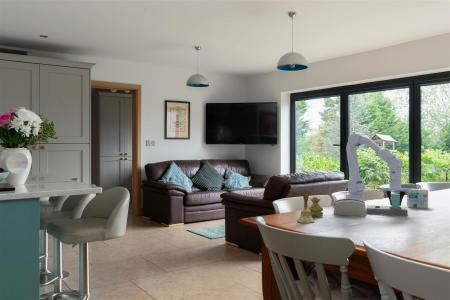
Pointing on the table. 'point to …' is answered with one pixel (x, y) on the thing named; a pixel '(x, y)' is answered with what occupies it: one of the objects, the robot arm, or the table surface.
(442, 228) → the table surface
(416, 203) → the light bulb box
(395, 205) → the square peg
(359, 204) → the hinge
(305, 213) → the hand bell
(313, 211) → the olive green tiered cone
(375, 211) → the bore plate
